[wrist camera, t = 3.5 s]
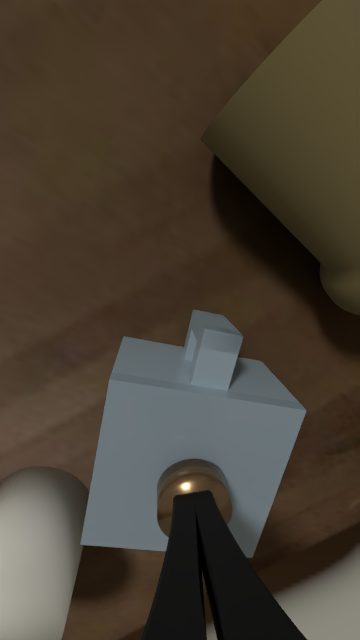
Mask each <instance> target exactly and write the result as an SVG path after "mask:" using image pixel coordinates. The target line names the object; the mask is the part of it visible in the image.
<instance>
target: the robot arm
mask: <svg viewBox="0 0 360 640" xmlns="http://www.w3.org/2000/svg"><path fill="white" fill-rule="evenodd" d="M202 572H203V576H204V581H205V585H206V590H207V594H208V599H209V603H210V608H211V612H212V617H213V621H214V626H215V630H216V635H217V639H218V640H307V639H306V638H305V637H304V636H303V634H302V633H301V632H300V631H299V630H298V629H297V627H296V626H295V625H294V623H293V622H292V621H291V619H290V618H289V617H288V616H287V614H286V613H285V612H284V610H283V609H282V608H281V607H280V606H279V604H278V603H277V601H276V600H275V599H274V597H273V596H272V595H271V593H270V592H269V590H268V589H267V588H266V586H265V585H264V583H263V582H262V581H261V579H260V578H259V576H258V575H257V573H256V572H255V570H254V569H253V567H252V566H251V564H250V563H249V561H248V560H247V558H246V556H245V555H244V553H243V552H242V550H241V548H240V547H239V545H238V543H237V542H236V540H235V538H234V537H233V535H232V533H231V531H230V530H229V528H228V526H227V524H226V522H225V520H224V518H223V516H222V515H221V513H220V510H219V508H218V506H217V504H216V502H215V499H214V497H213V494H212V492H211V491H209V490H206V491H199V492H193V493H187V494H181V495H176V496H175V497H174V498H173V512H172V521H171V527H170V534H169V539H168V544H167V549H166V554H165V558H164V563H163V567H162V570H161V574H160V578H159V582H158V586H157V590H156V593H155V597H154V600H153V604H152V607H151V610H150V614H149V617H148V620H147V623H146V626H145V629H144V632H143V635H142V638H141V640H207V637H206V623H205V610H204V595H203V581H202Z"/></svg>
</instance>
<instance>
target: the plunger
mask: <svg viewBox="0 0 360 640" xmlns="http://www.w3.org/2000/svg"><path fill="white" fill-rule="evenodd" d="M206 490H209V491H211V492H212V494H213V497H214V499H215V502H216V504H217V506H218V508H219V510H220V513H221V515H222V516H223V518H224V520H225V522H226V524H227V525H228V524H229V522H230V520H231V517H232V511H233V509H232V503H231V500H230V496H229V493H228V490H227V486H226V483H225V480H224V476H223V474H222V472H221V471H220V469H219V468H218V467H217V466H215V465H214V464H213V463H211V462H209V461H206V460H202V459H186V460H182V461H179V462H176V463H175V464H173V465H171V466H170V467H168V468H167V469H166V470H165V471H164V472H163V473H162V475H161V476H160V478H159V480H158V483H157V521H158V525H159V527H160V529H161V531H162V532H163V533H164V534H165V535H166V536H167V537H169V534H170V527H171V521H172V512H173V498H174V497H175V496H176V495H181V494H187V493H193V492H199V491H206Z"/></svg>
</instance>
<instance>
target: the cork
mask: <svg viewBox="0 0 360 640" xmlns="http://www.w3.org/2000/svg"><path fill="white" fill-rule="evenodd" d="M201 141H202V142H203V143H204V144H205V145H206V146H207V147H208V148H209V149H210V150H211V151H212V152H213V153H214V154H215V155H216V156H217V157H218V158H219V159H220V160H221V161H222V162H223V163H224V164H225V165H226V166H227V167H228V168H229V169H230V170H231V171H232V172H233V173H234V174H235V175H236V177H237V178H238V179H239V180H240V181H241V182H242V183H243V184H244V185H245V186H246V187H247V188H248V189H249V190H250V191H251V192H252V193H253V194H254V195H255V196H256V197H257V198H258V199H259V200H260V201H261V202H262V203H263V204H264V205H265V206H266V207H267V208H268V209H269V210H270V211H271V212H272V213H273V215H274V216H275V217H276V218H277V219H278V220H279V221H280V222H281V223H282V224H283V225H284V226H285V227H286V228H287V229H288V230H289V231H290V232H291V233H292V234H293V235H294V236H295V237H296V238H297V239H298V240H299V241H300V242H301V243H302V244H303V245H304V246H305V247H306V248H307V249H308V250H309V251H310V253H311V254H312V255H313V256H314V257H315V258H316V259H317V260H318V261H319V262H320V263H321V264H320V280H321V283H322V286H323V289H324V290H325V291H326V293H327V294H328V296H329V297H330V298H331V299H332V301H333V302H334V303H335V304H336V305H337V306H339V307H340V308H341V309H343V310H345V311H348V312H350V313H353V314H356V315H359V316H360V0H322V1H321V2H320V3H319V4H318V5H317V6H316V7H315V8H314V9H313V10H312V11H311V12H310V13H309V14H308V15H307V16H306V17H305V18H304V19H303V20H302V21H301V22H300V23H299V24H298V25H297V26H296V27H295V28H294V29H293V30H292V31H291V32H290V34H289V35H288V36H287V37H286V38H285V39H284V40H283V41H282V42H281V43H280V44H279V45H278V46H277V47H276V49H275V50H274V51H273V52H272V53H271V54H270V55H269V56H268V57H267V58H266V59H265V60H264V61H263V63H262V64H261V65H260V66H259V67H258V68H257V69H256V70H255V72H254V73H253V74H252V75H251V76H250V77H249V78H248V79H247V81H246V82H245V83H244V84H243V85H242V86H241V87H240V88H239V90H238V91H237V92H236V93H235V94H234V96H233V97H232V98H231V99H230V100H229V102H228V103H227V104H226V105H225V106H224V107H223V109H222V110H221V111H220V112H219V113H218V115H217V116H216V117H215V119H214V120H213V121H212V123H211V124H210V125H209V126H208V128H207V129H206V130H205V132H204V134H203V135H202V137H201Z"/></svg>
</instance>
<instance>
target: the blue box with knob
mask: <svg viewBox="0 0 360 640" xmlns="http://www.w3.org/2000/svg"><path fill="white" fill-rule="evenodd" d="M242 339H243V335H242V334H241V333H240V332H239V331H238V330H237V329H236V328H235V327H234V326H233V325H232V324H231V323H230V322H229V321H228V320H227V319H226V318H225V317H224V316H223V315H218V314H213V313H208V312H203V311H198V310H193V312H192V316H191V321H190V325H189V329H188V333H187V337H186V342H185V346H184V347H180V346H175V345H169V344H163V343H158V342H152V341H147V340H141V339H136V338H130V337H125V336H124V337H123V340H122V343H121V346H120V349H119V352H118V355H117V358H116V361H115V364H114V367H113V370H112V373H111V377H110V380H109V385H108V391H107V397H106V402H105V408H104V414H103V419H102V425H101V431H100V436H99V442H98V447H97V453H96V459H95V464H94V470H93V476H92V481H91V487H90V492H89V498H88V504H87V509H86V515H85V521H84V526H83V532H82V538H81V543H80V545H90V546H103V547H116V548H129V549H143V550H156V551H166V549H167V544H168V539H169V537H167V536H166V535H165V534H164V533H163V532H162V531H161V529H160V527H159V525H158V521H157V483H158V480H159V478H160V476H161V475H162V473H163V472H164V471H165V470H166V469H167V468H168V467H170V466H171V465H173V464H175V463H176V462H179V461H182V460H186V459H202V460H206V461H209V462H211V463H213V464H214V465H215V466H217V467H218V468H219V469H220V471H221V472H222V474H223V476H224V480H225V483H226V486H227V490H228V493H229V496H230V500H231V503H232V509H233V511H232V517H231V520H230V522H229V524H228V525H227V526H228V528H229V530H230V531H231V533H232V535H233V537H234V538H235V540H236V542H237V543H238V545H239V547H240V548H241V550H242V552H243V553H244V555H245V556H246V557H248V558H253V555H254V552H255V550H256V547H257V544H258V541H259V539H260V536H261V533H262V530H263V528H264V525H265V522H266V520H267V517H268V514H269V511H270V509H271V506H272V503H273V500H274V498H275V495H276V492H277V489H278V487H279V484H280V481H281V479H282V476H283V473H284V470H285V468H286V465H287V462H288V459H289V457H290V454H291V451H292V449H293V446H294V443H295V440H296V438H297V435H298V432H299V429H300V427H301V424H302V421H303V419H304V416H305V413H306V409H305V408H304V407H303V406H302V405H301V404H300V403H299V402H298V401H297V400H296V398H295V397H294V396H293V395H292V394H291V393H290V392H289V391H288V390H287V389H286V388H285V386H284V385H283V384H282V383H281V382H280V381H279V380H278V379H277V378H276V377H275V376H274V375H273V373H272V372H271V371H270V370H269V369H268V368H267V367H266V366H265V365H264V364H263V363H262V361H258V360H252V359H247V358H241V357H238V353H239V350H240V346H241V343H242Z"/></svg>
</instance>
